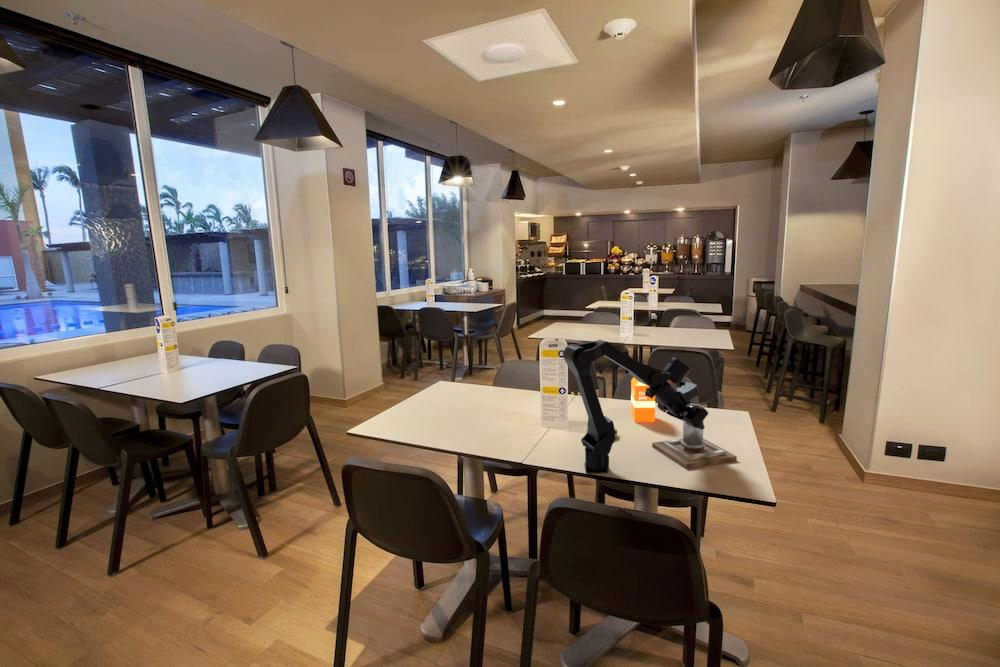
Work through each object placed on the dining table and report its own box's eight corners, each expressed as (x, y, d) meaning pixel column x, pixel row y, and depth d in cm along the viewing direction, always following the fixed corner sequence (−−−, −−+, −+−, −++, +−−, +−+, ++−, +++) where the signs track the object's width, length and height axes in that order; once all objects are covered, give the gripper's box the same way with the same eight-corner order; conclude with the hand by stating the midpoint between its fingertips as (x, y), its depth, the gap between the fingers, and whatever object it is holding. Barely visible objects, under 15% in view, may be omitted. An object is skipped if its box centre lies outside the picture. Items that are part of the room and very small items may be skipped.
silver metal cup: (692, 451, 149) (693, 411, 147) (675, 443, 155) (676, 404, 153) (709, 447, 151) (711, 407, 150) (692, 439, 158) (694, 401, 156)
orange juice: (650, 415, 192) (651, 366, 189) (655, 422, 183) (656, 371, 180) (630, 415, 193) (630, 366, 190) (634, 422, 184) (634, 372, 181)
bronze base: (685, 469, 143) (686, 461, 143) (652, 447, 160) (652, 439, 160) (736, 460, 147) (736, 453, 147) (698, 440, 165) (698, 433, 164)
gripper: (703, 382, 140) (733, 415, 144) (666, 369, 158) (694, 398, 162) (679, 411, 139) (710, 443, 144) (644, 394, 157) (673, 423, 161)
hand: (696, 425), depth 153 cm, fingers closed on silver metal cup, 6 cm apart
